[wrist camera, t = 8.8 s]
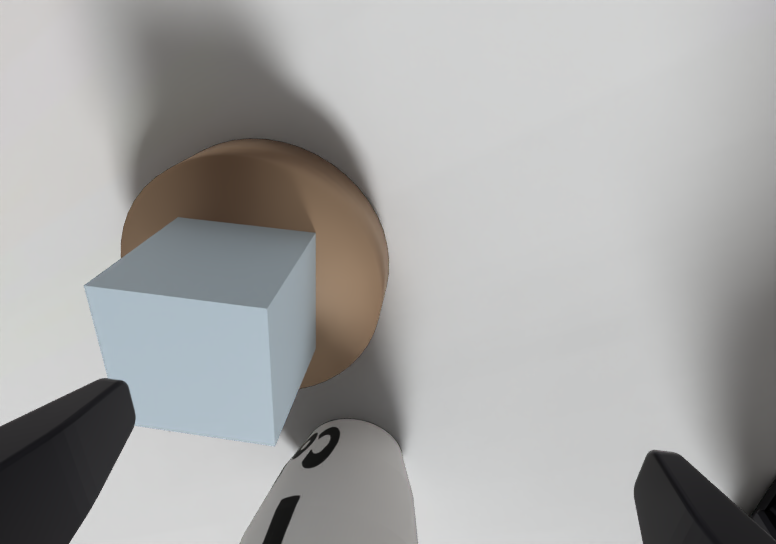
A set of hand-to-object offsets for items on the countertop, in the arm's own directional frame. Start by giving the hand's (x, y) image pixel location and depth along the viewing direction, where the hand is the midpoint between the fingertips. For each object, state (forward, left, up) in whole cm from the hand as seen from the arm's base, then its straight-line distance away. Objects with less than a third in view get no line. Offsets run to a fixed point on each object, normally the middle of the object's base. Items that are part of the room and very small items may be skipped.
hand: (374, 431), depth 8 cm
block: (+6, +3, -9) cm, 11 cm away
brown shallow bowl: (+6, +3, -12) cm, 13 cm away
